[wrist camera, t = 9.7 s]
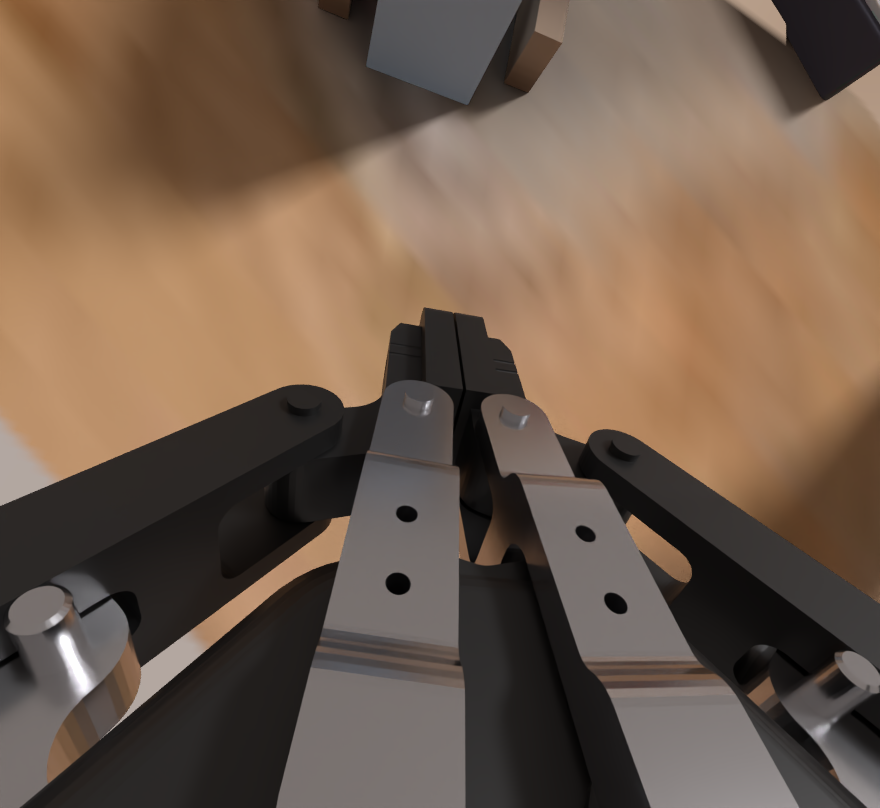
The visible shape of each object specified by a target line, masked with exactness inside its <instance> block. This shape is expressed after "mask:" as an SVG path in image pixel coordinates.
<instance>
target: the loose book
mask: <svg viewBox="0 0 880 808" xmlns="http://www.w3.org/2000/svg"><path fill="white" fill-rule="evenodd" d="M521 2H522V0H378V3H377V8H376V14H375V19H374V25H373V30H372V36H371V41H370V47H369V52H368V58H367V63H366V67H369V68H371V69H374V70H376V71H379V72H382V73H384V74H387V75H389V76H392V77H395V78H397V79H400V80H403V81H405V82H408V83H410V84H413V85H416V86H418V87H421V88H424V89H426V90H429V91H431V92H434V93H437V94H439V95H442V96H444V97H447V98H450V99H452V100H455V101H458V102H460V103H463V104H465V105H468V103H469V102H470V100H471V98H472V96H473V94H474V92H475V90H476V88H477V86H478V84H479V82H480V80H481V78H482V77H483V75H484V73H485V71H486V69H487V67H488V65H489V63H490V61H491V59H492V57H493V55H494V54H495V52H496V50H497V48H498V46H499V44H500V42H501V40H502V38H503V36H504V34H505V32H506V30H507V29H508V27H509V25H510V23H511V21H512V19H513V17H514V15H515V13H516V11H517V9H518V7H519V5H520V4H521Z"/></svg>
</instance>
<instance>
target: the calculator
mask: <svg viewBox="0 0 880 808" xmlns="http://www.w3.org/2000/svg"><path fill="white" fill-rule="evenodd" d="M772 2H773V3H774V5H775V7H776V8H777V10H778V11H779V13H780V15H781V16H782V18H783V20H784V21H785V23H786V42H788V43H789V44H791V45H792V46H793V48H794V50H795V52H796V53H797V55H798V57H799V59H800V61H801V62H802V64H803V66H804V68H805V70H806V71H807V73H808V75H809V77H810V79H811V80H812V82H813V84H814V86H815V88H816V90H817V91H818V93H819V95H820V96H821V97H822V98H823V99H824V100H828V99H830V98H831V97H833V96H834V95H836V94H837V93H839V92H840V91H842V90H843V89H844V88H846V87H847V86H849V85H850V84H852V83H853V82H855V81H856V80H858V79H859V78H861V77H862V76H863V75H865V74H866V73H868V72H869V71H871V70H872V69H874V68H875V67H877V66H878V65H880V0H772Z"/></svg>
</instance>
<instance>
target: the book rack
mask: <svg viewBox="0 0 880 808" xmlns="http://www.w3.org/2000/svg"><path fill="white" fill-rule="evenodd" d="M569 1H570V0H522V2H521V4H520V5H519V7H518V10H517V16H516V21H515V26H514V32H513V37H512V42H511V48H510V53H509V59H508V64H507V69H506V75H505V80H504V83H505V84H508V85H510V86H513V87H515V88H517V89H520V90H522V91H525V92H527V93H528V92H529V91H530V89H531V88H532V87H533V85H534V84H535V82H536V81H537V79H538V78H539V76H540V75H541V73H542V72H543V70H544V69H545V67H546V66H547V64H548V63H549V62H550V60H551V59H552V57H553V56H554V54H555V53H556V51H557V50H558V48H559V47H560V45H561V44H562V41H563V35H564V29H565V23H566V18H567V12H568V6H569ZM351 3H352V0H319V3H318V8H320V9H323V10H325V11H328V12H330V13H333V14H335V15H338V16H340V17H343V18H345V19H348V17H349V12H350V8H351Z"/></svg>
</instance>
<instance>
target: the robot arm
mask: <svg viewBox="0 0 880 808" xmlns="http://www.w3.org/2000/svg"><path fill="white" fill-rule="evenodd" d="M632 514H633V515H634V516H635V517H637V518H638V519H639V520H640V521H642V522H643V523H644V524H646V525H647V526H648V527H649V528H651V529H652V530H653V531H654V532H656V533H657V534H658V535H660V536H661V537H662V538H663V539H665V540H666V541H667V542H668V543H670V544H671V545H672V546H674V547H675V548H676V549H677V550H679V551H680V552H681V553H682V554H683V555H684V556H685V557H686V558H687V559H688V561H689V563H690V565H691V568H692V577H691V579H690V581H689V582H688V583H685V582H680V581H677V580H676V579H674V578H672V577H671V576H670V575H669V574H667V573H666V572H665V571H664V570H663V569H661V568H660V567H659V566H658V565H656V564H655V563H654V562H653V561H652V560H650V559H649V558H648V557H647V556H646V555H644V554H643V553H642V552H641V551H640V550H638V548H637V546H636V544H635V542H634V541H633V539H632V537H631V535H630V533H629V531H628V529H627V527H626V525H625V524H626V523H627V521H628V520H629V518H630V516H631V515H632ZM350 515H351V517H350V521H349V525H348V529H347V533H346V537H345V541H344V545H343V549H342V553H341V557H340V561H338V562H334V563H330V564H327V565H324V566H321V567H319V568H316V569H313V570H311V571H309V572H307V573H305V574H303V575H301V576H299V577H297V578H295V579H294V580H292V581H291V582H289V583H288V584H286V585H285V586H283V587H282V588H280V589H279V590H278V591H276V592H275V593H274V594H273V595H271V596H270V597H269V598H268V599H267V600H265V601H264V602H263V603H262V604H261V605H260V606H258V607H257V608H256V609H255V610H254V611H252V612H251V613H250V614H249V615H248V616H246V617H245V618H244V619H243V620H242V621H241V622H239V623H238V624H237V625H236V626H235V627H233V628H232V629H231V630H230V631H229V632H228V633H226V634H225V635H224V636H223V637H222V638H220V639H219V640H218V641H217V642H216V643H214V644H213V645H212V646H211V647H210V648H209V649H207V650H206V651H205V652H204V653H203V654H201V655H200V656H199V657H198V658H197V659H196V660H194V661H193V662H192V663H191V664H190V665H189V666H187V667H186V668H185V669H184V670H183V671H181V672H180V673H179V674H178V675H177V676H175V677H174V678H173V679H172V680H171V681H169V682H168V683H167V684H166V685H165V686H164V687H162V688H161V689H160V690H159V691H158V692H156V693H155V694H154V695H153V696H152V697H151V698H149V699H148V700H147V701H146V702H145V703H143V704H142V705H141V706H140V707H139V708H137V709H136V710H135V711H134V712H133V713H132V714H131V715H129V716H128V717H127V718H126V719H124V720H123V721H122V722H121V723H120V724H119V725H117V726H116V727H115V728H114V729H113V730H112V731H110V729H112V727H114V726H115V724H117V723H118V722H119V721H120V719H121V718H122V717H123V716H124V715H125V713H126V712H127V711H128V709H129V707H130V706H131V704H132V703H133V701H134V699H135V696H136V694H137V692H138V688H139V685H140V679H141V669H140V668H141V667H142V666H143V665H145V664H146V663H147V662H149V661H150V660H151V659H153V658H154V657H156V656H157V655H158V654H159V653H161V652H162V651H163V650H165V649H166V648H168V647H169V646H170V645H172V644H173V643H174V642H176V641H177V640H178V639H180V638H181V637H182V636H184V635H185V634H186V633H188V632H189V631H190V630H192V629H193V628H194V627H196V626H197V625H199V624H200V623H201V622H203V621H204V620H205V619H207V618H208V617H209V616H211V615H212V614H213V613H215V612H216V611H217V610H219V609H220V608H221V607H223V606H224V605H225V604H227V603H228V602H229V601H231V600H232V599H233V598H235V597H236V596H238V595H239V594H240V593H242V592H243V591H244V590H246V589H247V588H248V587H250V586H251V585H252V584H254V583H255V582H256V581H258V580H259V579H260V578H262V577H263V576H264V575H266V574H267V573H268V572H270V571H271V570H272V569H274V568H275V567H277V566H278V565H279V564H281V563H282V562H283V561H285V560H286V559H287V558H289V557H290V556H291V555H293V554H294V553H295V552H297V551H298V550H299V549H301V548H302V547H303V546H305V545H306V544H307V543H309V542H310V541H311V540H313V539H314V538H315V537H317V536H318V535H320V534H321V533H322V532H323V531H324V530H326V528H327V527H328V526H329V524H330V522H331V519H332V518H338V517H344V516H350ZM459 554H460V558H459ZM108 731H110V732H109V733H108V734H107V735H105V734H106V733H107V732H108ZM104 735H105V736H104ZM103 736H104V737H103ZM102 737H103V738H102ZM101 738H102V739H101ZM100 739H101V740H100ZM99 740H100V741H99ZM0 808H880V604H879V603H878V602H876V601H875V600H873V599H872V598H870V597H869V596H867V595H866V594H864V593H863V592H862V591H860V590H859V589H857V588H856V587H854V586H853V585H851V584H850V583H848V582H847V581H845V580H844V579H842V578H841V577H839V576H838V575H837V574H835V573H834V572H832V571H831V570H829V569H828V568H826V567H825V566H823V565H822V564H820V563H819V562H817V561H816V560H815V559H813V558H812V557H810V556H809V555H807V554H806V553H804V552H803V551H801V550H800V549H798V548H797V547H795V546H794V545H793V544H791V543H790V542H788V541H787V540H785V539H784V538H782V537H781V536H779V535H778V534H776V533H775V532H773V531H772V530H771V529H769V528H768V527H766V526H765V525H763V524H762V523H760V522H759V521H757V520H756V519H754V518H753V517H751V516H750V515H748V514H747V513H746V512H744V511H743V510H741V509H740V508H738V507H737V506H735V505H734V504H732V503H731V502H729V501H728V500H726V499H725V498H724V497H722V496H721V495H719V494H718V493H716V492H715V491H713V490H712V489H710V488H709V487H707V486H706V485H704V484H703V483H702V482H700V481H699V480H697V479H696V478H694V477H693V476H691V475H690V474H688V473H687V472H685V471H684V470H682V469H681V468H680V467H678V466H677V465H675V464H674V463H672V462H671V461H669V460H668V459H666V458H665V457H663V456H662V455H660V454H659V453H658V452H656V451H655V450H653V449H652V448H650V447H649V446H647V445H646V444H644V443H643V442H641V441H640V440H638V439H636V438H635V437H633V436H631V435H628V434H626V433H623V432H620V431H616V430H609V429H603V430H598V431H595V432H593V433H592V434H591V435H590V437H589V439H588V441H587V443H586V444H583V443H580V442H578V441H575V440H572V439H569V438H566V437H563V436H561V435H558V434H556V433H554V431H553V429H552V427H551V424H550V422H549V420H548V418H547V416H546V414H545V413H544V412H543V411H542V410H541V409H540V408H539V407H538V406H537V405H535V404H534V403H532V402H530V401H528V400H526V398H525V395H524V391H523V388H522V385H521V382H520V379H519V375H518V374H517V369H516V366H515V365H514V359H513V356H512V353H511V351H510V350H509V348H508V347H507V346H506V345H505V344H504V343H503V342H502V341H501V340H500V339H494V338H488V336H487V332H486V328H485V324H484V320H483V318H482V317H477V316H472V315H466V314H460V313H454V314H453V313H452V312H448V311H442V310H436V309H431V308H425V307H424V308H423V311H422V315H421V320H420V325H419V326H416V325H410V324H404V323H400V324H399V325H398V326H397V327H395V328H394V329H393V330H392V331H391V336H390V342H389V348H388V354H387V360H386V367H385V373H384V379H383V386H382V396H381V397H380V398H379V399H378V400H376V401H375V402H373V403H370V404H367V405H364V406H359V407H348V408H344V406H343V403H342V401H341V400H340V399H339V398H338V397H337V396H336V395H335V394H334V393H332V392H330V391H328V390H326V389H324V388H321V387H317V386H312V385H290V386H285V387H282V388H279V389H276V390H274V391H272V392H269V393H267V394H264V395H262V396H260V397H257V398H255V399H253V400H250V401H248V402H246V403H243V404H241V405H238V406H236V407H234V408H231V409H229V410H227V411H224V412H222V413H220V414H217V415H215V416H212V417H210V418H208V419H205V420H203V421H201V422H198V423H196V424H194V425H191V426H189V427H186V428H184V429H182V430H179V431H177V432H175V433H172V434H170V435H168V436H165V437H163V438H160V439H158V440H156V441H153V442H151V443H149V444H146V445H144V446H141V447H139V448H137V449H134V450H132V451H130V452H127V453H125V454H123V455H120V456H118V457H115V458H113V459H111V460H108V461H106V462H104V463H101V464H99V465H97V466H94V467H92V468H89V469H87V470H85V471H82V472H80V473H78V474H75V475H73V476H71V477H68V478H66V479H63V480H61V481H59V482H56V483H54V484H52V485H49V486H47V487H45V488H42V489H40V490H38V491H35V492H33V493H30V494H28V495H26V496H23V497H21V498H19V499H16V500H14V501H12V502H9V503H7V504H4V505H2V506H0Z"/></svg>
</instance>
